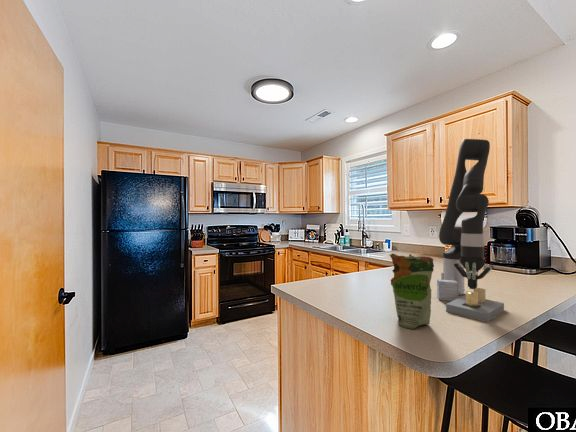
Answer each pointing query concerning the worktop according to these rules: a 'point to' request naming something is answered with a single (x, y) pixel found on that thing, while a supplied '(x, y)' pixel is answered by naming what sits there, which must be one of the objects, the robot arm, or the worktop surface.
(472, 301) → the brass bushing
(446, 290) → the medicine box
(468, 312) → the jig plate
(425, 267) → the pouch
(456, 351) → the worktop surface
